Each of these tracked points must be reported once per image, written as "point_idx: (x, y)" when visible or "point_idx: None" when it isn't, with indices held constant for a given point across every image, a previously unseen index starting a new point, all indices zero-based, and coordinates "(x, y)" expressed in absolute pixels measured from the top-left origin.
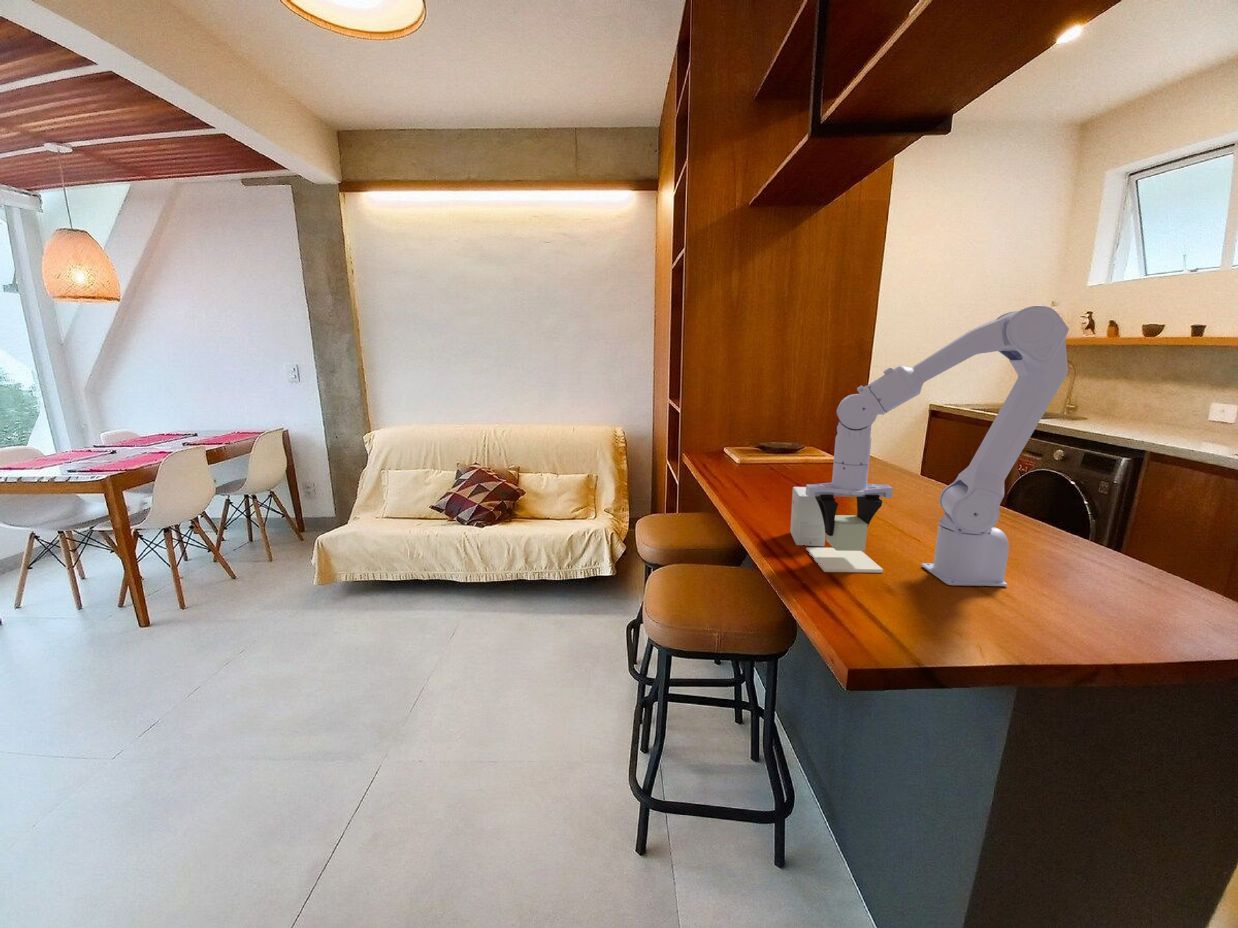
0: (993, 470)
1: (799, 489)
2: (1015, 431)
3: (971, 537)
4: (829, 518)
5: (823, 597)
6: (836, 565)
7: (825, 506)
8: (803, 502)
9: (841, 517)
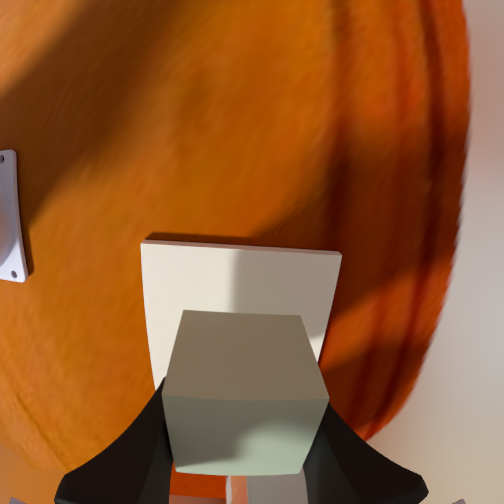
0: None
1: None
2: None
3: None
4: (351, 434)
5: (418, 87)
6: (289, 278)
7: (413, 473)
8: None
9: (256, 460)
